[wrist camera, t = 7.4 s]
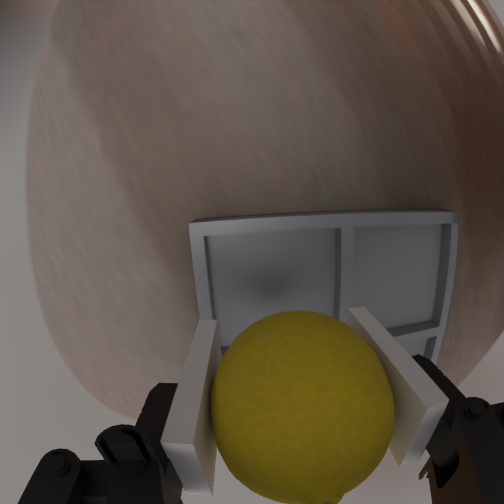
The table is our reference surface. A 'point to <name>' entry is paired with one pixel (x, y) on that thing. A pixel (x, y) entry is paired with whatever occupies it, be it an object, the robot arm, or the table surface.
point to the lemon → (301, 408)
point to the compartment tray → (330, 269)
